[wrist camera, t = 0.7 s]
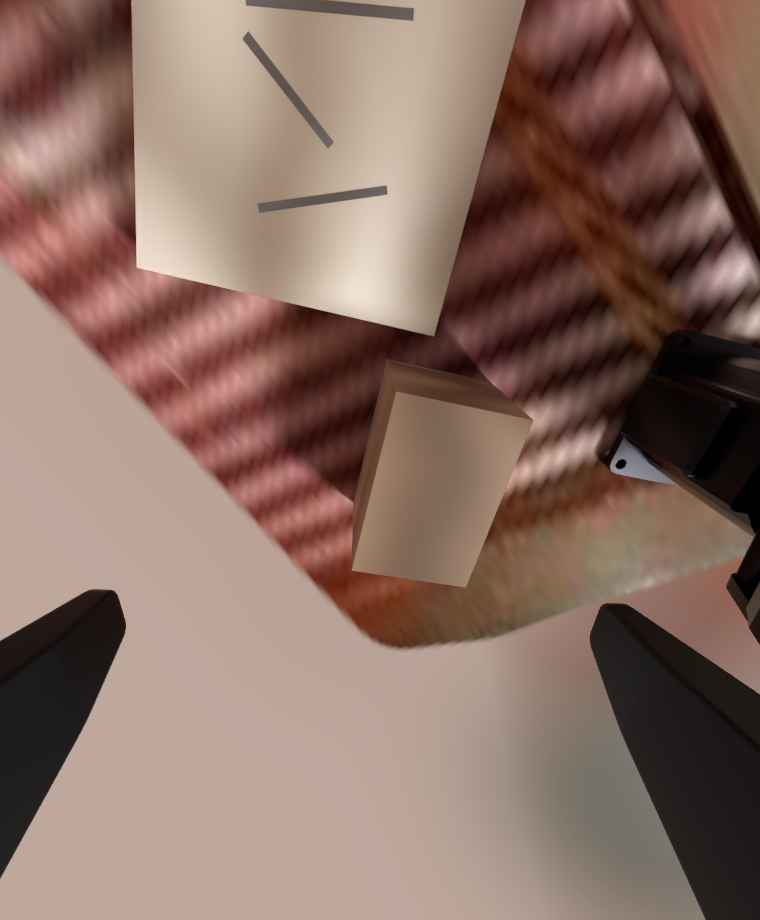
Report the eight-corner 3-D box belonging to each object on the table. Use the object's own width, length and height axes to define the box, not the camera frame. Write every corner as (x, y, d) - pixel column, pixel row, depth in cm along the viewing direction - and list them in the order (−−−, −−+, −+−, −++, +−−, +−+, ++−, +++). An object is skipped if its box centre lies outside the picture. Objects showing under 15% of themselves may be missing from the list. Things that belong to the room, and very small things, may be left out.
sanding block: (488, 380, 18) (533, 420, 13) (442, 516, 20) (465, 587, 16) (386, 358, 17) (396, 391, 12) (353, 501, 20) (351, 570, 15)
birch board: (515, -12, 12) (541, -60, 10) (425, 328, 16) (434, 336, 15) (165, -138, 11) (126, -219, 9) (163, 267, 15) (136, 267, 13)
